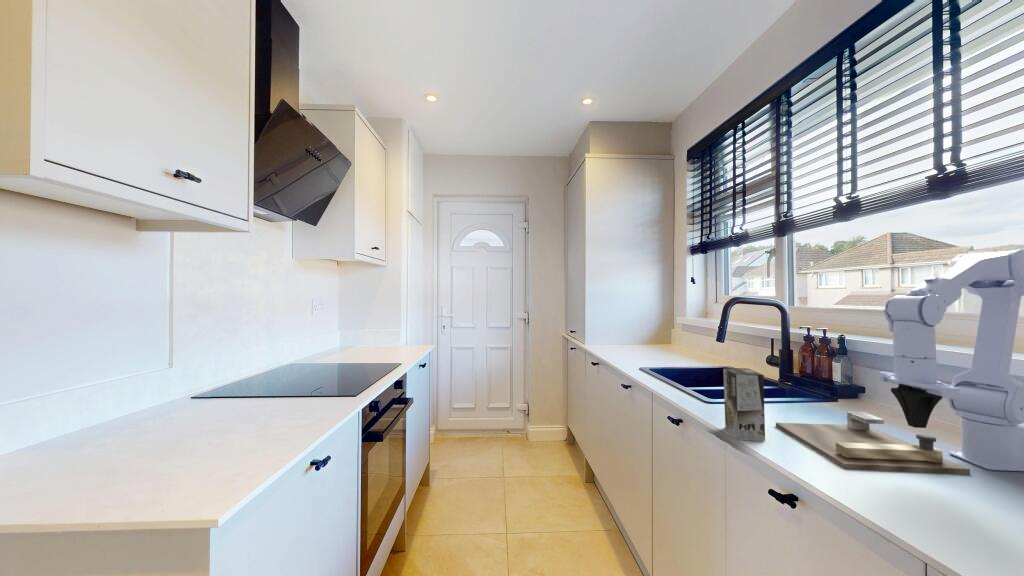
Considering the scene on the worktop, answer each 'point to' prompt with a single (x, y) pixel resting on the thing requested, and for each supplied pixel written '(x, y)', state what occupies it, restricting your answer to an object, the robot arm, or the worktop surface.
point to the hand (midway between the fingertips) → (917, 426)
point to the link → (894, 450)
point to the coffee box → (744, 404)
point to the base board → (860, 432)
